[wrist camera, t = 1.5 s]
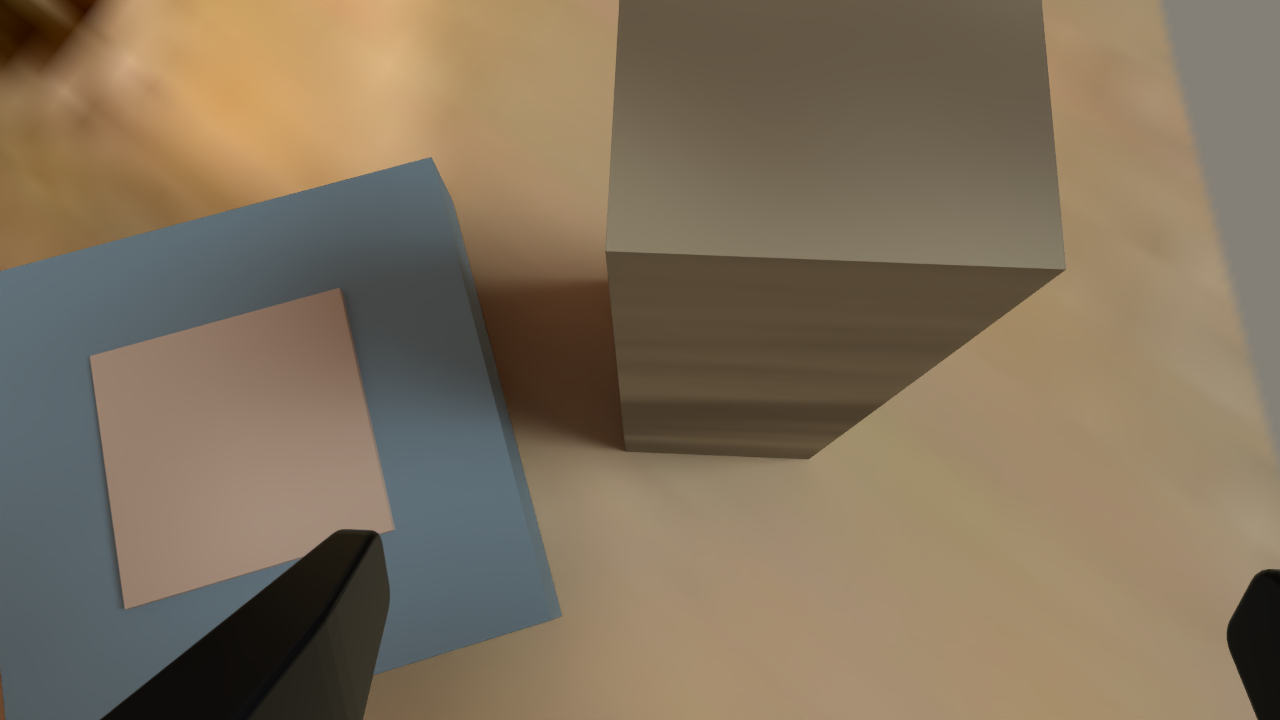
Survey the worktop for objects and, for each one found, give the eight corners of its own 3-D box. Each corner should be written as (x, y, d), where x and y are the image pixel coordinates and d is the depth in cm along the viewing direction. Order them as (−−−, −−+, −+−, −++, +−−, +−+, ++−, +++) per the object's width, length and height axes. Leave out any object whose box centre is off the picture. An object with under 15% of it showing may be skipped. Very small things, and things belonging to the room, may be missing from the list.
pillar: (808, 458, 21) (1065, 269, 8) (625, 451, 21) (605, 250, 8) (807, 285, 22) (1030, -111, 9) (633, 278, 22) (626, -126, 10)
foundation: (561, 615, 20) (550, 620, 17) (88, 762, 19) (5, 788, 17) (453, 200, 23) (429, 152, 20) (33, 313, 22) (-46, 278, 19)
